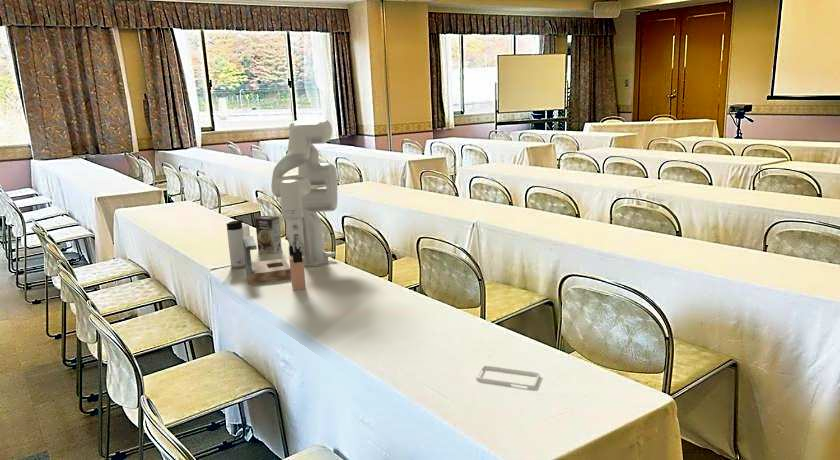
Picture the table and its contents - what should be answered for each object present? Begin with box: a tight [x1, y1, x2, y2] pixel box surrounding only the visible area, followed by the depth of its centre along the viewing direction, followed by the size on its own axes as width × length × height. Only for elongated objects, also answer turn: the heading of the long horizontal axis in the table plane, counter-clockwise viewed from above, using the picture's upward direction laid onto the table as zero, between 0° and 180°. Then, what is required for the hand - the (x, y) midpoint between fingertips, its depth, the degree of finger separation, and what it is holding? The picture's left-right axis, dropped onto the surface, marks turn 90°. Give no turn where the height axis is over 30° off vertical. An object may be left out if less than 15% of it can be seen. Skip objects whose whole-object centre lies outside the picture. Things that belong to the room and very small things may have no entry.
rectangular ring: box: [475, 365, 541, 390], centre depth 157 cm, size 7×1×15 cm
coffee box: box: [254, 215, 283, 255], centre depth 281 cm, size 9×6×16 cm
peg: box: [288, 255, 307, 291], centre depth 230 cm, size 4×4×12 cm
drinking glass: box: [242, 223, 251, 237], centre depth 271 cm, size 7×7×15 cm
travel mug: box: [226, 220, 246, 270], centre depth 258 cm, size 6×7×20 cm
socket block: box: [242, 235, 291, 285], centre depth 245 cm, size 16×16×15 cm
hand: (296, 259), depth 228 cm, fingers open, 9 cm apart
